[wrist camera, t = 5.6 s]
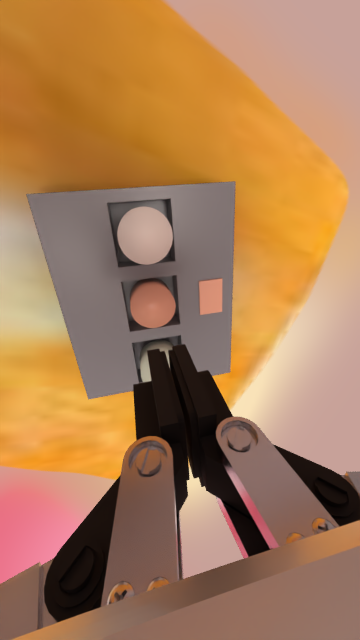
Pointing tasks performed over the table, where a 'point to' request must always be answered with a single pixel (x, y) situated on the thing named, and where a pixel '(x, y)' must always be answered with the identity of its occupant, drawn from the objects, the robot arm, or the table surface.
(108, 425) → the table surface
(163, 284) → the terracotta button
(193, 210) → the button box
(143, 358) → the sage button
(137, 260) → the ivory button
